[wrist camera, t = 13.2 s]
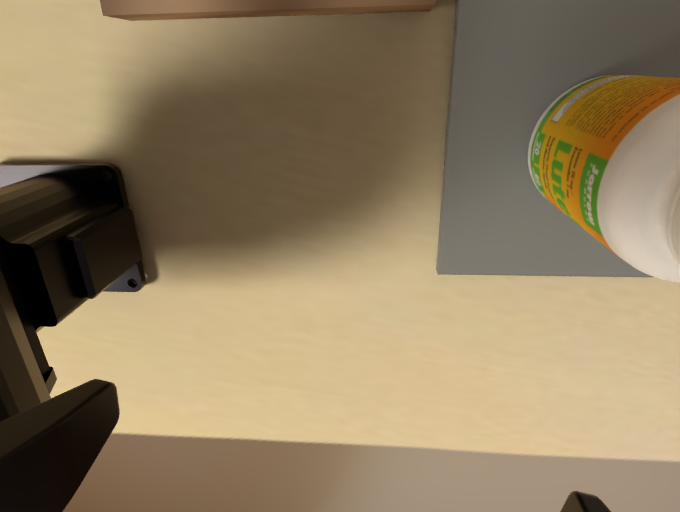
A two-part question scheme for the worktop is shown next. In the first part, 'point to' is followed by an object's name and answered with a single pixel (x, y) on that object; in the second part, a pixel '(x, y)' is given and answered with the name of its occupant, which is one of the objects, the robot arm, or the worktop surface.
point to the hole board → (251, 8)
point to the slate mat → (532, 125)
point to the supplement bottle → (616, 166)
